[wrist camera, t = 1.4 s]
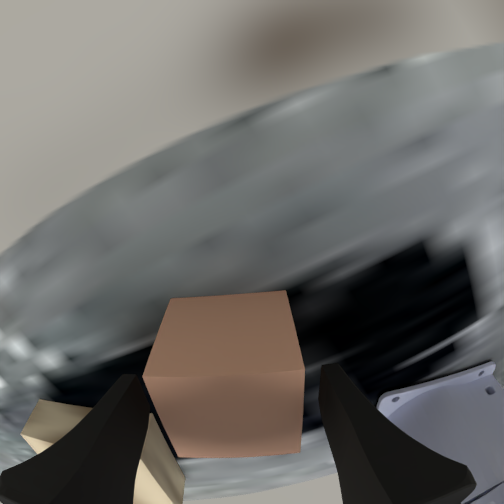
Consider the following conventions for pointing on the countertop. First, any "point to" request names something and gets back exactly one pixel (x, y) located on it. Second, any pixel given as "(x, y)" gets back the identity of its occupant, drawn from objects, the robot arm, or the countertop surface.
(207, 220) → the countertop surface
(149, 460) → the birch base
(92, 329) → the countertop surface
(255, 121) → the countertop surface
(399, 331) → the countertop surface
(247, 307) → the terracotta cube
